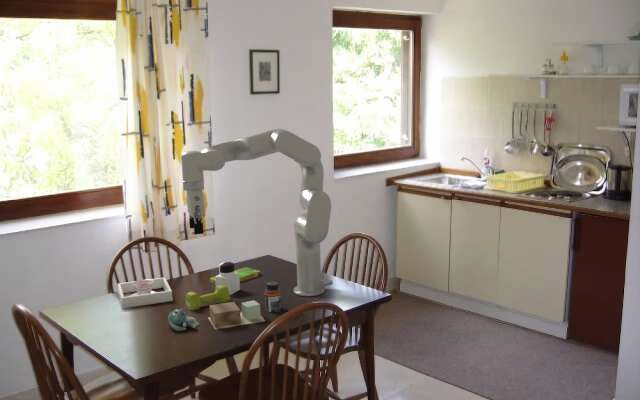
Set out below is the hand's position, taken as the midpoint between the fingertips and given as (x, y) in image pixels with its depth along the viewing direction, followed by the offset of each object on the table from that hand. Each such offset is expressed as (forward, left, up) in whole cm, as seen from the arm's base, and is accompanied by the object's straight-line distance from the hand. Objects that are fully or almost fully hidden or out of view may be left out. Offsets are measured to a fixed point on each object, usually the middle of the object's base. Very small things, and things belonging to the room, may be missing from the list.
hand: (196, 230), depth 248 cm
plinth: (-9, +19, -30) cm, 37 cm away
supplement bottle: (-24, +15, -31) cm, 42 cm away
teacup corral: (+18, -23, -30) cm, 42 cm away
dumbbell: (-3, -1, -31) cm, 31 cm away
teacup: (+18, -23, -31) cm, 43 cm away
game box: (-21, -30, -31) cm, 48 cm away
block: (-14, +19, -29) cm, 38 cm away
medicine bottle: (-14, -15, -31) cm, 37 cm away
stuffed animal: (+9, +15, -31) cm, 35 cm away
